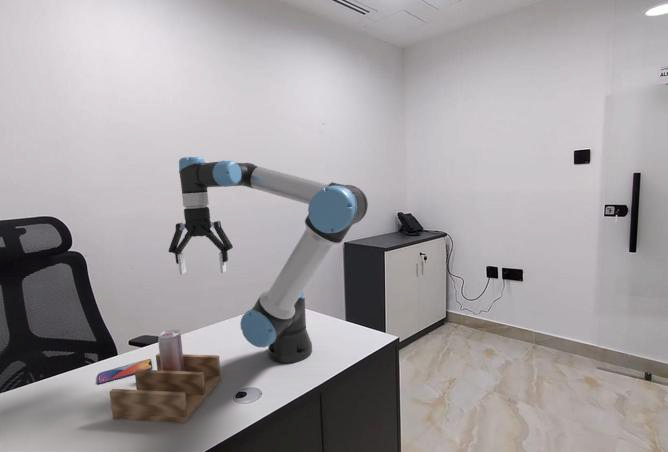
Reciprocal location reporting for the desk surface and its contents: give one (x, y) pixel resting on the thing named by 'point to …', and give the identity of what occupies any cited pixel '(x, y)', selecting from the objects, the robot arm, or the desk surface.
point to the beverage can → (171, 351)
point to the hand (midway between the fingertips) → (203, 272)
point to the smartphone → (123, 371)
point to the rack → (168, 391)
